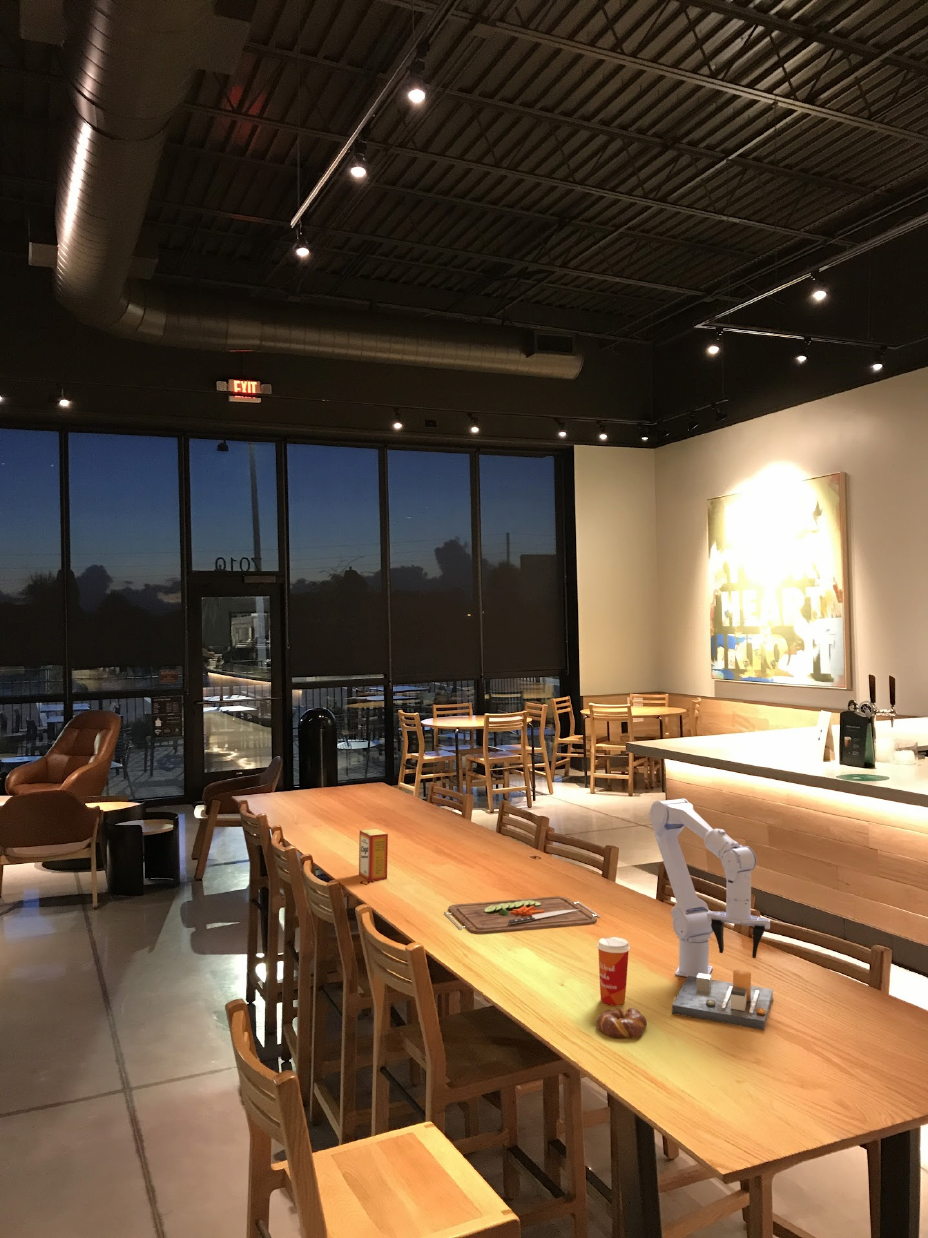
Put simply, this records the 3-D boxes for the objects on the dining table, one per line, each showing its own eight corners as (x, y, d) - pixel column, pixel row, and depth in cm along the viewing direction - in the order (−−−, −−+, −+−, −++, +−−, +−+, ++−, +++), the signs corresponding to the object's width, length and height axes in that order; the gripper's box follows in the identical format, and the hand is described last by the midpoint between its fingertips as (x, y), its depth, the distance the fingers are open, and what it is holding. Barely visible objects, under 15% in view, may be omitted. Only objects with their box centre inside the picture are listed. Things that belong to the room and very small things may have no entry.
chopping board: (571, 899, 303) (571, 889, 303) (608, 924, 278) (608, 914, 278) (438, 910, 290) (438, 900, 290) (465, 937, 264) (465, 926, 264)
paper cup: (590, 997, 221) (591, 938, 221) (618, 993, 223) (619, 935, 224) (606, 1010, 213) (607, 949, 214) (635, 1006, 216) (636, 945, 216)
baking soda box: (358, 875, 328) (359, 829, 328) (375, 872, 331) (376, 827, 331) (369, 881, 319) (370, 834, 320) (387, 879, 323) (387, 833, 323)
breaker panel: (687, 983, 230) (688, 963, 230) (772, 997, 222) (772, 976, 222) (672, 1013, 212) (672, 991, 212) (763, 1030, 204) (764, 1007, 204)
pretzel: (614, 1014, 212) (615, 998, 212) (657, 1028, 205) (657, 1011, 205) (585, 1030, 203) (586, 1013, 203) (629, 1045, 196) (629, 1028, 196)
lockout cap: (734, 994, 219) (734, 968, 219) (751, 997, 217) (751, 971, 217) (731, 1000, 215) (732, 974, 215) (749, 1003, 214) (749, 977, 214)
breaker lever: (732, 1004, 213) (732, 986, 213) (746, 1006, 212) (746, 988, 212) (730, 1008, 210) (731, 990, 210) (744, 1011, 209) (744, 993, 209)
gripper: (705, 898, 224) (704, 955, 224) (768, 906, 218) (767, 964, 218) (709, 891, 230) (709, 946, 230) (771, 898, 225) (770, 955, 224)
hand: (737, 954), depth 225 cm, fingers open, 7 cm apart
